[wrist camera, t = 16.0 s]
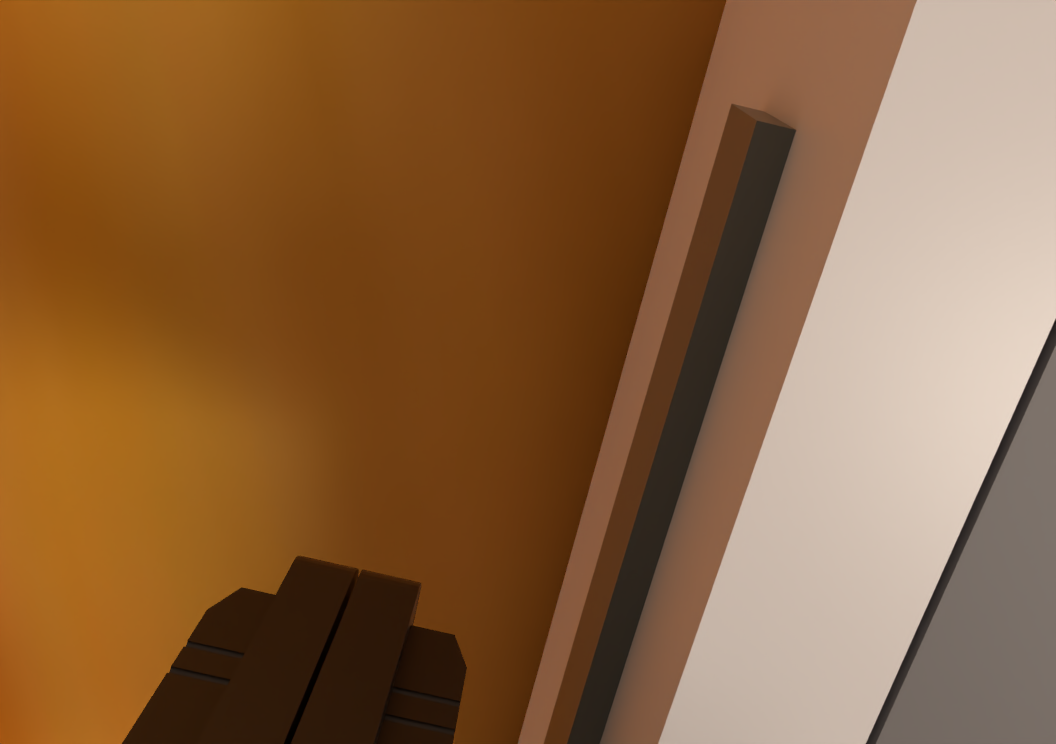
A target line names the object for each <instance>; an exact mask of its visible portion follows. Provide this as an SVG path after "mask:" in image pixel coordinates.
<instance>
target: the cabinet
mask: <svg viewBox="0 0 1056 744" xmlns="http://www.w3.org/2000/svg"><path fill="white" fill-rule="evenodd" d="M866 744H1056V319H1055V321H1054V323H1053V326H1052V328H1051V330H1050V332H1049V335H1048V337H1047V339H1046V341H1045V344H1044V346H1043V348H1042V350H1041V353H1040V355H1039V357H1038V359H1037V361H1036V364H1035V366H1034V368H1033V370H1032V373H1031V375H1030V377H1029V379H1028V382H1027V384H1026V386H1025V388H1024V391H1023V393H1022V395H1021V397H1020V400H1019V402H1018V404H1017V406H1016V408H1015V411H1014V413H1013V415H1012V417H1011V420H1010V422H1009V424H1008V426H1007V429H1006V431H1005V433H1004V435H1003V438H1002V440H1001V442H1000V444H999V447H998V449H997V451H996V453H995V456H994V458H993V460H992V462H991V464H990V467H989V469H988V471H987V473H986V476H985V478H984V480H983V482H982V485H981V487H980V489H979V491H978V494H977V496H976V498H975V500H974V503H973V505H972V507H971V509H970V511H969V514H968V516H967V518H966V520H965V523H964V525H963V527H962V529H961V532H960V534H959V536H958V538H957V541H956V543H955V545H954V547H953V550H952V552H951V554H950V556H949V558H948V561H947V563H946V565H945V567H944V570H943V572H942V574H941V576H940V579H939V581H938V583H937V585H936V588H935V590H934V592H933V594H932V597H931V599H930V601H929V603H928V606H927V608H926V610H925V612H924V614H923V617H922V619H921V621H920V623H919V626H918V628H917V630H916V632H915V635H914V637H913V639H912V641H911V644H910V646H909V648H908V650H907V653H906V655H905V657H904V659H903V661H902V664H901V666H900V668H899V670H898V673H897V675H896V677H895V679H894V682H893V684H892V686H891V688H890V691H889V693H888V695H887V697H886V700H885V702H884V704H883V706H882V709H881V711H880V713H879V715H878V717H877V720H876V722H875V724H874V726H873V729H872V731H871V733H870V735H869V738H868V740H867V742H866Z"/></svg>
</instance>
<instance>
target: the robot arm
mask: <svg viewBox="0 0 1056 744" xmlns="http://www.w3.org/2000/svg"><path fill="white" fill-rule="evenodd" d="M358 574H359V570H358V569H356V568H352V567H347V566H343V565H338V564H334V563H330V562H325V561H321V560H316V559H312V558H307V557H303V556H297V557H296V559H295V560H294V562H293V564H292V565H291V567H290V569H289V571H288V573H287V575H286V577H285V579H284V580H283V582H282V584H281V586H280V588H279V590H278V592H277V594H276V595H273V594H268V593H264V592H259V591H255V590H250V589H246V588H240V589H239V590H237V591H235V592H234V593H232V594H231V595H229V596H228V597H226V598H225V599H223V600H222V601H220V602H218V603H217V604H215V605H214V606H212V607H211V608H209V609H208V610H207V611H206V612H205V614H204V616H203V617H202V619H201V620H200V622H199V623H198V625H197V627H196V628H195V630H194V631H193V633H192V634H191V636H190V638H189V639H188V642H187V645H186V647H183V649H182V650H181V652H180V653H179V655H178V657H177V658H176V660H175V661H174V663H173V664H172V666H171V670H170V672H169V673H167V674H166V675H165V677H164V679H163V680H162V682H161V683H160V685H159V686H158V688H157V690H156V691H155V693H154V694H153V696H152V697H151V699H150V701H149V702H148V704H147V705H146V707H145V708H144V710H143V712H142V713H141V715H140V716H139V718H138V719H137V721H136V723H135V724H134V726H133V727H132V729H131V730H130V732H129V734H128V735H127V737H126V738H125V740H124V741H123V743H122V744H453V738H454V732H455V728H456V722H457V717H458V712H459V705H460V701H461V695H462V690H463V685H464V679H465V674H466V669H467V667H466V665H465V662H464V659H463V657H462V654H461V651H460V648H459V646H458V643H457V640H456V638H455V635H452V634H447V633H443V632H438V631H434V630H429V629H425V628H420V627H416V626H413V623H414V618H415V614H416V609H417V604H418V600H419V595H420V590H421V583H419V582H415V581H410V580H406V579H401V578H397V577H392V576H388V575H384V574H379V573H375V572H370V571H366V570H362V571H361V573H360V575H359V577H358Z"/></svg>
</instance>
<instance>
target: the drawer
mask: <svg viewBox="0 0 1056 744" xmlns="http://www.w3.org/2000/svg"><path fill="white" fill-rule="evenodd" d="M1055 319H1056V0H727V1H726V4H725V8H724V11H723V15H722V18H721V22H720V25H719V29H718V33H717V36H716V40H715V43H714V47H713V50H712V54H711V57H710V61H709V65H708V68H707V72H706V75H705V79H704V82H703V86H702V89H701V93H700V97H699V100H698V104H697V107H696V111H695V114H694V118H693V122H692V125H691V129H690V132H689V136H688V139H687V143H686V146H685V150H684V154H683V157H682V161H681V164H680V168H679V171H678V175H677V178H676V182H675V186H674V189H673V193H672V196H671V200H670V203H669V207H668V210H667V214H666V218H665V221H664V225H663V228H662V232H661V235H660V239H659V242H658V246H657V250H656V253H655V257H654V260H653V264H652V267H651V271H650V274H649V278H648V282H647V285H646V289H645V292H644V296H643V299H642V303H641V306H640V310H639V314H638V317H637V321H636V324H635V328H634V331H633V335H632V339H631V342H630V346H629V349H628V353H627V356H626V360H625V363H624V367H623V371H622V374H621V378H620V381H619V385H618V388H617V392H616V395H615V399H614V403H613V406H612V410H611V413H610V417H609V420H608V424H607V427H606V431H605V435H604V438H603V442H602V445H601V449H600V452H599V456H598V459H597V463H596V467H595V470H594V474H593V477H592V481H591V484H590V488H589V491H588V495H587V499H586V502H585V506H584V509H583V513H582V516H581V520H580V523H579V527H578V531H577V534H576V538H575V541H574V545H573V548H572V552H571V556H570V559H569V563H568V566H567V570H566V573H565V577H564V580H563V584H562V588H561V591H560V595H559V598H558V602H557V605H556V609H555V612H554V616H553V620H552V623H551V627H550V630H549V634H548V637H547V641H546V644H545V648H544V652H543V655H542V659H541V662H540V666H539V669H538V673H537V676H536V680H535V684H534V687H533V691H532V694H531V698H530V701H529V705H528V708H527V712H526V716H525V719H524V723H523V726H522V730H521V733H520V737H519V740H518V744H866V742H867V740H868V738H869V735H870V733H871V731H872V729H873V726H874V724H875V722H876V720H877V717H878V715H879V713H880V711H881V709H882V706H883V704H884V702H885V700H886V697H887V695H888V693H889V691H890V688H891V686H892V684H893V682H894V679H895V677H896V675H897V673H898V670H899V668H900V666H901V664H902V661H903V659H904V657H905V655H906V653H907V650H908V648H909V646H910V644H911V641H912V639H913V637H914V635H915V632H916V630H917V628H918V626H919V623H920V621H921V619H922V617H923V614H924V612H925V610H926V608H927V606H928V603H929V601H930V599H931V597H932V594H933V592H934V590H935V588H936V585H937V583H938V581H939V579H940V576H941V574H942V572H943V570H944V567H945V565H946V563H947V561H948V558H949V556H950V554H951V552H952V550H953V547H954V545H955V543H956V541H957V538H958V536H959V534H960V532H961V529H962V527H963V525H964V523H965V520H966V518H967V516H968V514H969V511H970V509H971V507H972V505H973V503H974V500H975V498H976V496H977V494H978V491H979V489H980V487H981V485H982V482H983V480H984V478H985V476H986V473H987V471H988V469H989V467H990V464H991V462H992V460H993V458H994V456H995V453H996V451H997V449H998V447H999V444H1000V442H1001V440H1002V438H1003V435H1004V433H1005V431H1006V429H1007V426H1008V424H1009V422H1010V420H1011V417H1012V415H1013V413H1014V411H1015V408H1016V406H1017V404H1018V402H1019V400H1020V397H1021V395H1022V393H1023V391H1024V388H1025V386H1026V384H1027V382H1028V379H1029V377H1030V375H1031V373H1032V370H1033V368H1034V366H1035V364H1036V361H1037V359H1038V357H1039V355H1040V353H1041V350H1042V348H1043V346H1044V344H1045V341H1046V339H1047V337H1048V335H1049V332H1050V330H1051V328H1052V326H1053V323H1054V321H1055Z"/></svg>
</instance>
